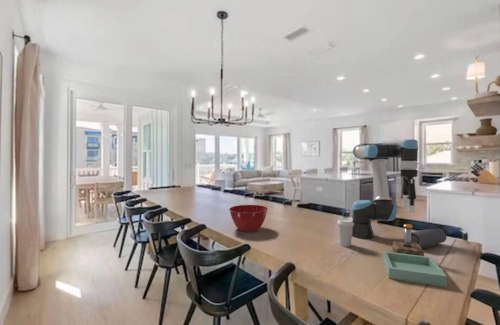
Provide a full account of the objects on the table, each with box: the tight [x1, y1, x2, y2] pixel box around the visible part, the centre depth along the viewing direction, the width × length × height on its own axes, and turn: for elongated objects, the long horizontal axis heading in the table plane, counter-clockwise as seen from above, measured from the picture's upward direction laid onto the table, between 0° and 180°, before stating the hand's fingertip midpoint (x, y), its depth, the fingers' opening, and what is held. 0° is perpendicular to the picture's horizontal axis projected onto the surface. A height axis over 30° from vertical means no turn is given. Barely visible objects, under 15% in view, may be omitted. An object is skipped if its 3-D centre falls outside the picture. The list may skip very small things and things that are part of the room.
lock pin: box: [403, 223, 413, 248], centre depth 134 cm, size 4×4×15 cm
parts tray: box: [382, 250, 448, 288], centre depth 117 cm, size 21×21×4 cm
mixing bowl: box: [228, 204, 268, 233], centre depth 186 cm, size 28×28×16 cm
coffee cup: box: [337, 218, 354, 248], centre depth 153 cm, size 10×10×15 cm
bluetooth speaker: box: [411, 228, 447, 249], centre depth 150 cm, size 23×9×10 cm, turn 111°
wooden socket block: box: [392, 240, 425, 256], centre depth 134 cm, size 12×12×6 cm
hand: (408, 209), depth 133 cm, fingers open, 13 cm apart
